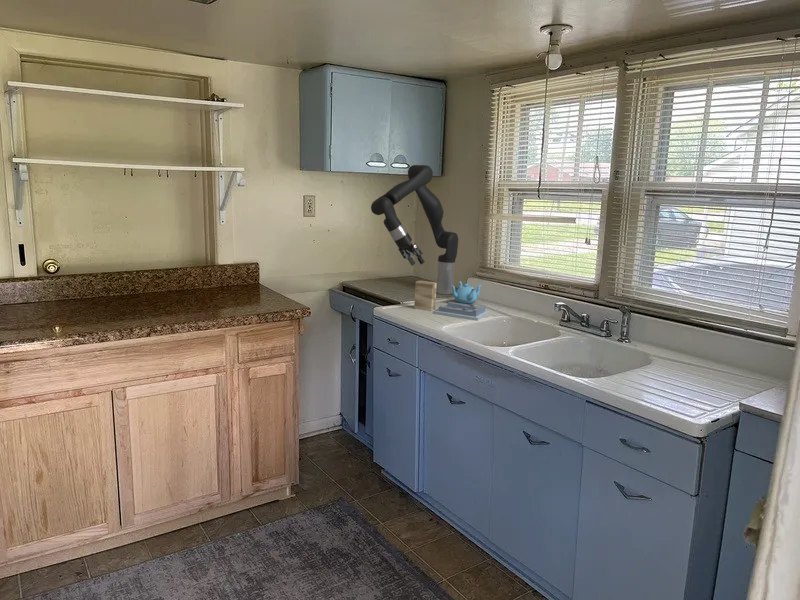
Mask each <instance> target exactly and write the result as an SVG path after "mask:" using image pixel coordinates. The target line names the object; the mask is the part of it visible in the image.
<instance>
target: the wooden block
mask: <svg viewBox="0 0 800 600" xmlns="http://www.w3.org/2000/svg"><path fill="white" fill-rule="evenodd" d="M414 285H415V286H414V287H415V288H414V304H413V306H414V307H413V309H414V310H421V311H429V312H433V311H434V310H436V304H437V303H436V302H437V301H436V300H437V292H436V288H437V282H433V281H426V280H417V281H415V284H414Z"/></svg>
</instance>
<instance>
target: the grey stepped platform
mask: <svg viewBox="0 0 800 600" xmlns="http://www.w3.org/2000/svg"><path fill="white" fill-rule="evenodd" d="M486 308H487V307H486V304H482V305H475V304H474V303H473V304H468V303H465V304H461V303H457V302H454V301H453V302H452V301H448V302H447V303H446V304H445V305H439V306H438V308H435V310H433V311H432V314H434V315H439V316H440V315H441V316H445V315H446V316H447V317H452V318H459V319H464V320H471V321H477V322H478V321H479V320H481V319H483V318H485V317H486V316H489V314H490V311H489V310H486Z"/></svg>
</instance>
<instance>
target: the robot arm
mask: <svg viewBox="0 0 800 600" xmlns="http://www.w3.org/2000/svg"><path fill="white" fill-rule="evenodd" d="M433 175H434V171H433V169H432V167H431V166H429V165H425V164H413V165H411V166H409V167H408V170H407V177H408V179H407V180H405V181H403V182H400V183H397V184H396V185H394V186H393V187H392V188H390V189H389V190H388V191H387V192H386V193H384V194H383V195H381V196H379V197H378V198H376V199H375V200H374V201H373V202H372V203H371V204H370V210H371V213H372V214H374V215H376V216H381V215H384V217H385V218H384V220H383V224H384V226H385V227H386V230H387V232H388V233H389V234H390V237H391V238H392V240H393V242H394V243H395V244H396V246H397V247H398V251H399V253H400V254H401V256H402V257H403V259H405V260H407V261H408V262H409V264H410V266H414V265H415V264H416V261H415V260H414V258H413V257H412V256H414V257H415V258H416V259H417V261H418V262H419V264H420V265H424V263H425V260H424V258H423V257H422V255H423V251H422V250H421V248H420V247H419V246H418V244H417V243H414V244H413V243H412V241H413V239H412V237H411V236H410V235H411V234H409V232H408V231H407V229H406V227H405V226H404V225H403V224H402V222H401V220H400V219H399V218H398V215H397V213H396V209H395V207H394V206H395V205H397V204H398V203H400V202H401V201H402V200H403V199H405V198H406V197H407V196H408V195H410V194H412V193H413V192H414V191H415V193H416V195H417V197H418V199H419V201H420V203H421V207H422V209H423V211H424V214H425V216H426V217H427V221H428V223H429V225H430V227H431V231H432V234H433V237H434V240H435V243H436V245H437V247H438V248H440V249H445V251H444V254H440V255H438V257H437V270H436V271H437V272H436V273H437V275H436V283H437V287H436V294H441V295H453V294H452V286H451V285H453V286H454V287H455V285H454V283H455V271H456V270H455V268H456V258H457V255H458V248H459V237H458V234H457V233H456V232H454V231H453V232H452V231H448V230H447V231H446V230H445V229H444V227H443V224H442V221H443V217H444V208H443V205H442V203H441V201H440V199H439V198H438V197H437V195H435V193H433V191H432V190H430V189H429V188H428V187H427V184H429V183H430V182H431V181H432V179H433Z"/></svg>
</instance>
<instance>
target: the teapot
mask: <svg viewBox="0 0 800 600" xmlns="http://www.w3.org/2000/svg"><path fill="white" fill-rule="evenodd" d="M482 285H483V284H482V283H481V284H478V286H477V287H476V288H474V287H473V286H471V285H470V284H468V283H464V285H463V282H462V281H461V280H460V281H459V287H458V288H457V290H456V287H455V285H454V286H453V285H451V286H452V294H451V295H452V297H453V298H454V300H455V301H456V303H460V304H468V305H470V304H474V303H476V301H477V300H478V297H479V296H480V294H481V293H480V290H481V286H482ZM475 289H476V290H475Z"/></svg>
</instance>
